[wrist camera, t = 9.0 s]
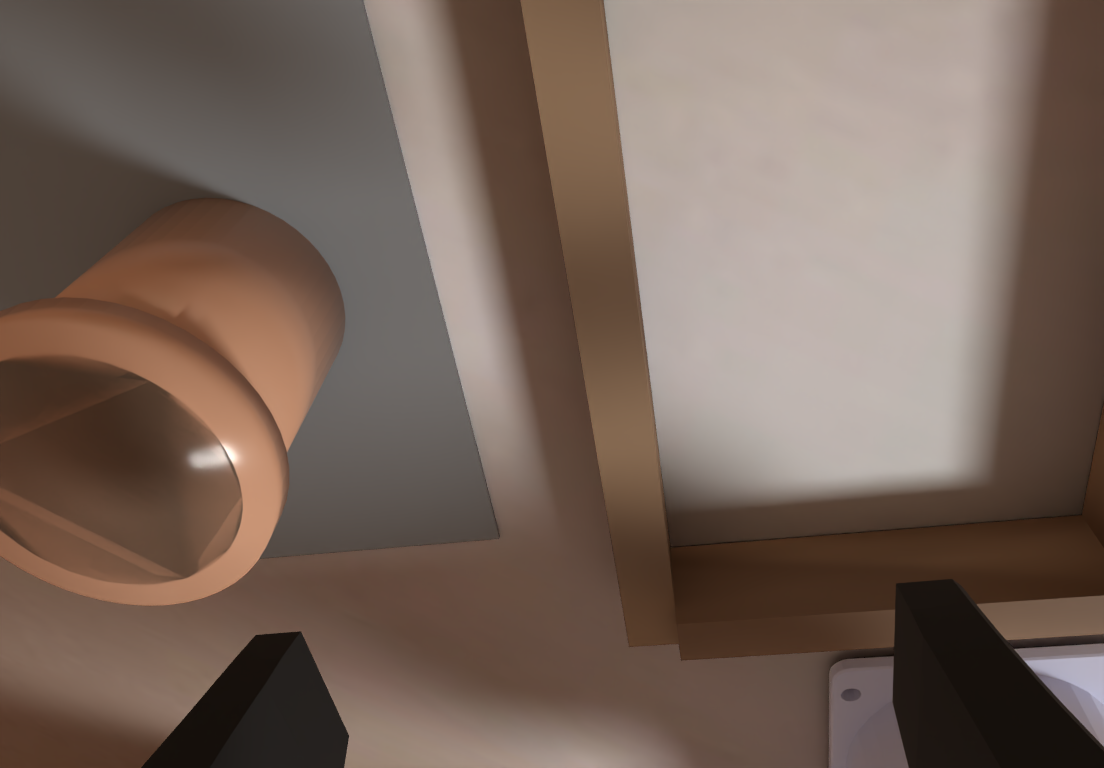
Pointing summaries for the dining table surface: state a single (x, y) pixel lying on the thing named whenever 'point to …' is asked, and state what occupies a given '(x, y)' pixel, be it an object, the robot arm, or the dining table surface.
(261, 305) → the terracotta pot
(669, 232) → the dining table surface
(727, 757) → the dining table surface
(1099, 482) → the cold frame
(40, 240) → the potting mat
